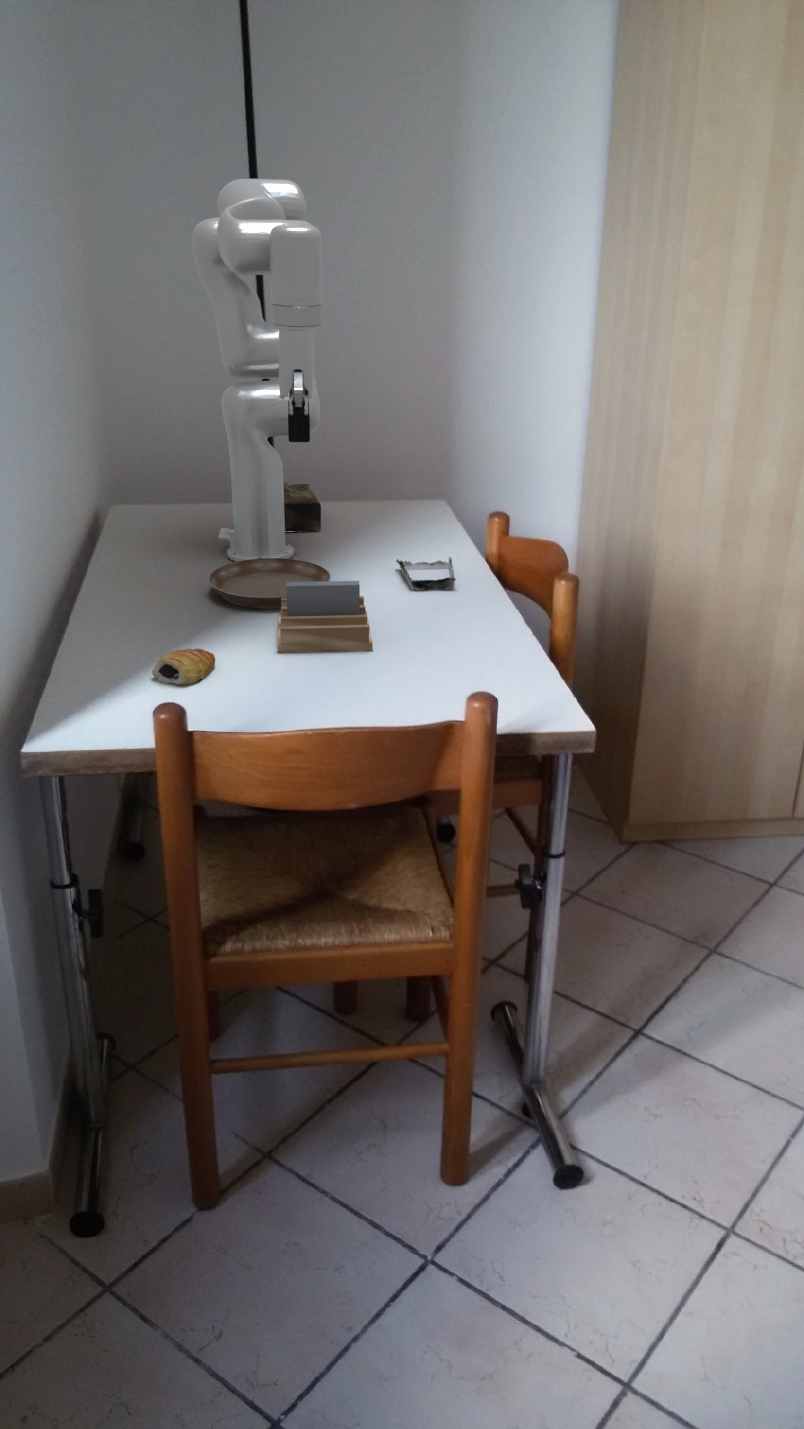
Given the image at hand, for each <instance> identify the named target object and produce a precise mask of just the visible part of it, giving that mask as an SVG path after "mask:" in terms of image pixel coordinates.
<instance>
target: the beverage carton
mask: <svg viewBox="0 0 804 1429" xmlns="http://www.w3.org/2000/svg"><path fill="white" fill-rule="evenodd" d="M283 489H284V516H285V531H320V532H321V530H322V506H321V505H322V504H321V503H320V501H319V500H318V498H317V497H316V495H315V494H314V492H313V490H312V488H310V485H309V484H308V483H295V484H294V483H293V484H291V483H290V484H289V483H288V482H283Z"/></svg>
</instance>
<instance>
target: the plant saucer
mask: <svg viewBox="0 0 804 1429" xmlns="http://www.w3.org/2000/svg"><path fill="white" fill-rule="evenodd" d="M331 578H332V574H331V573H330V572H329V569H327V568H326V567H323V566H322V565H320V564H318V563H314V562H311V561H306V560H301V559H297V558H296V559H295V558H289V559H286V558H259V559H249V560H242V561H238V562H236V561H234V562H230V563H226V564H224V565H222V566H219V567H217V568H216V569H214V570H213V571H212V572H211V573H210V574H209V575H208V578H207V579H208V580H207V581H208V583H209V584H210V586H211V588H212V589H213V590H214V591H215V592H216V593H217V595H219V596H220V597H222V598H223V599H224V600H225V601H227V602H229V603H231V604H234V605H235V606H241V607H245V608H251V609H281V598H287V595H286V582H317V581H331Z"/></svg>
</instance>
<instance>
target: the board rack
mask: <svg viewBox="0 0 804 1429" xmlns="http://www.w3.org/2000/svg"><path fill="white" fill-rule="evenodd" d="M364 601H365V599H364V596H363V595H362V596H361V595H360V615H335V616H288V617H287V598H281V608H280V612H278V624H277V625H278V626H277V653H278V654H286V653H287V654H289V653H290V654H292V653H294V654H295V653H296V654H298V653H330V652H331V653H332V652H371V651H373V644H374V642H373V640H372V639H373V637H372V634H371V633H372V632H371V629H370V628H371V627H370V622H369V616H368V611H367V610H366V605H365V602H364Z"/></svg>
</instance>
